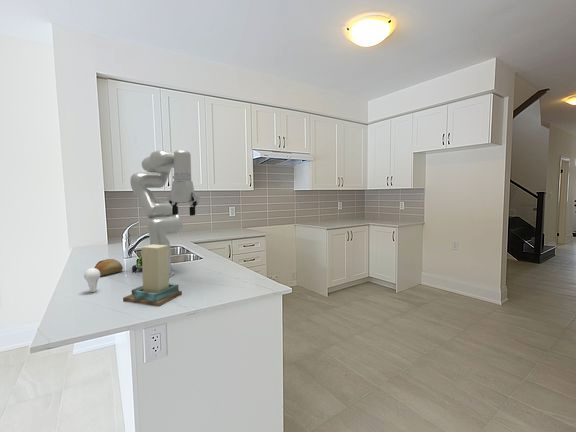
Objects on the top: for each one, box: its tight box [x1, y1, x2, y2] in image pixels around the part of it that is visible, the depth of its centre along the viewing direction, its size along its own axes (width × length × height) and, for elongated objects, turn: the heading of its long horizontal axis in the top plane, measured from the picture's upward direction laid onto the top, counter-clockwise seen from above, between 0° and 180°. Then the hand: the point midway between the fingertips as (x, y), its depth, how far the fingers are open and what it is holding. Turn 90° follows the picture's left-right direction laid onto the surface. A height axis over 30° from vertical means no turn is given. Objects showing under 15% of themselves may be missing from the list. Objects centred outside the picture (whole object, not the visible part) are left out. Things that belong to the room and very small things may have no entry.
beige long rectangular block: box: [141, 244, 170, 293], centre depth 122 cm, size 8×7×21 cm
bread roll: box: [94, 258, 124, 277], centre depth 159 cm, size 10×15×8 cm, turn 154°
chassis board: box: [122, 283, 183, 307], centre depth 124 cm, size 18×14×4 cm
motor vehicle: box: [131, 253, 142, 273], centre depth 171 cm, size 12×19×11 cm, turn 19°
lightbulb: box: [83, 267, 101, 293], centre depth 130 cm, size 6×6×11 cm
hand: (183, 215), depth 135 cm, fingers open, 9 cm apart
